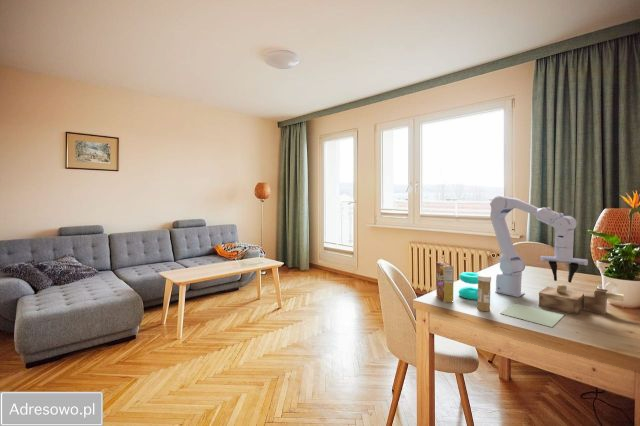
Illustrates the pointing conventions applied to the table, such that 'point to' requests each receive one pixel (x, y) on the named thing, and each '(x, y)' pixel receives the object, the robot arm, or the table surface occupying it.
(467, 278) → the donuts
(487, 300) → the sprinkles bottle
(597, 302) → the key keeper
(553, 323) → the mat
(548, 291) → the lid
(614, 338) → the table surface
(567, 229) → the robot arm
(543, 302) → the toolbox
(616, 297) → the cream rectangular bar
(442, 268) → the candy box
